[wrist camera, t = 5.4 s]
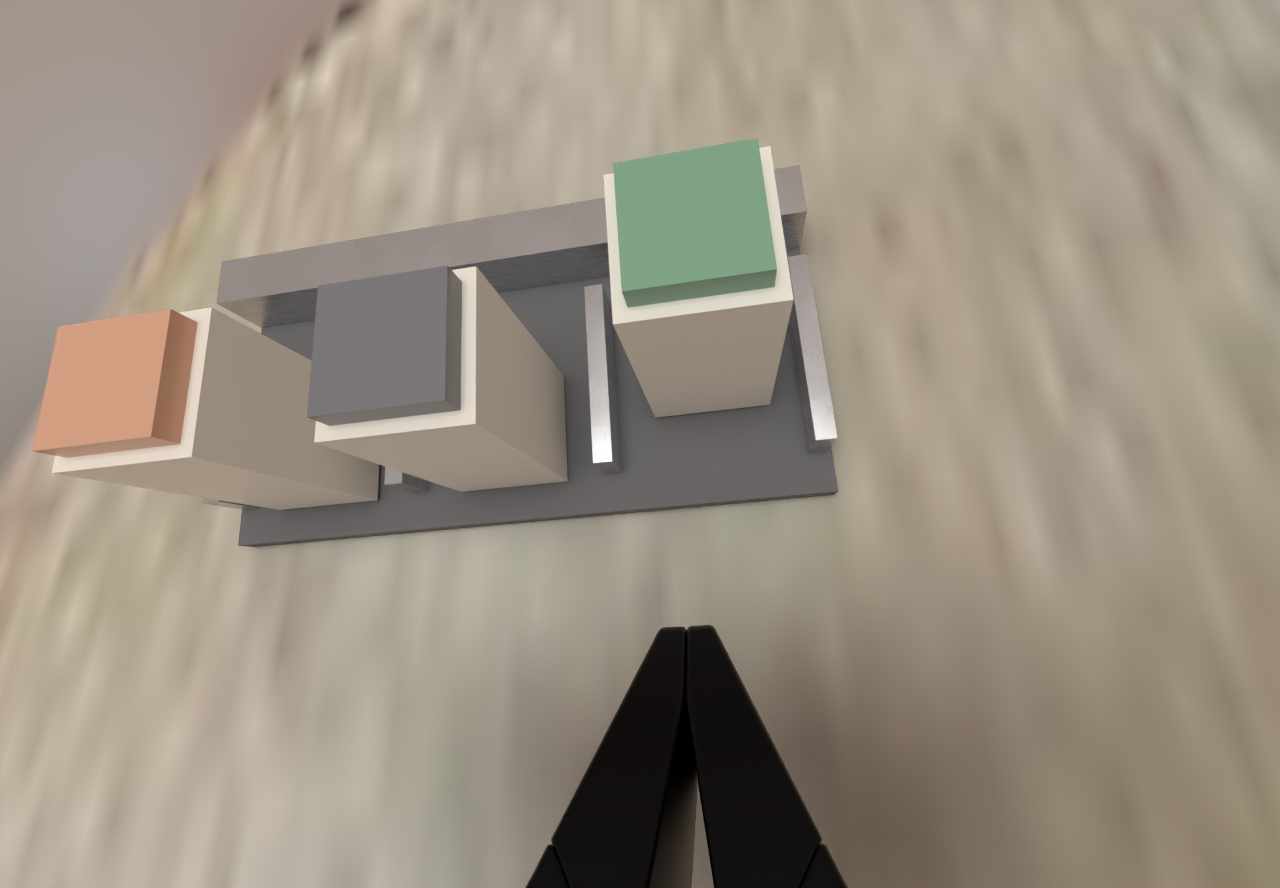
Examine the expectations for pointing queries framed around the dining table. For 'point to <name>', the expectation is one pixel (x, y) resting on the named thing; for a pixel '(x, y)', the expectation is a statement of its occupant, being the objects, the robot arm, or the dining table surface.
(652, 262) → the key
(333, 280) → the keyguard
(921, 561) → the dining table surface
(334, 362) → the key
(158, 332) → the key
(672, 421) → the key mat
